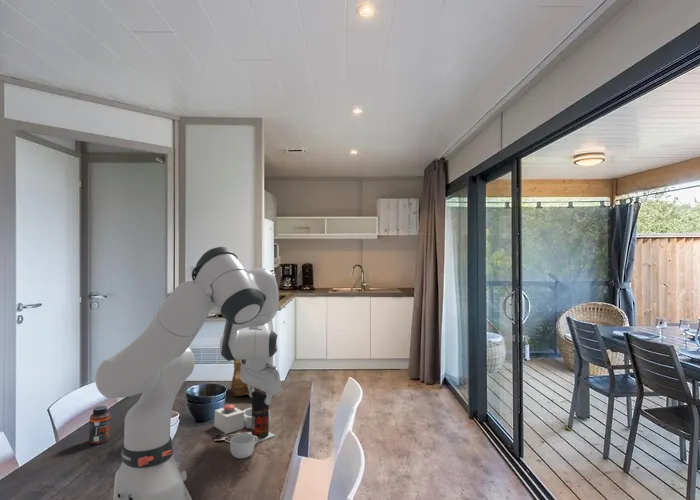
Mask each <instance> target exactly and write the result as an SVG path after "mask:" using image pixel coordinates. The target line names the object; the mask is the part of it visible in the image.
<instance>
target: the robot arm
mask: <svg viewBox="0 0 700 500" xmlns="http://www.w3.org/2000/svg"><path fill="white" fill-rule="evenodd" d="M191 278H192V280H191V281H184V282H182V283H180V284H179V285H177V287H175V288H174V289H173V290H172V291H171V293H170V294H169V295H168V296H167V298H165V300H164V302H163V303H162V304H161V305H160V308H159V309H158V311H157V312H156V314H155V315H154V317H153V318H152V320H151V322H150V323H149V324H148V326H147V328H146V329H145V331H144V332H142V333H141V334H140V335H139V336H138V337H137V338H136V339H134V341H132V342H131V343H130V344H128V345H127V346H126V347H124V348H123V349H122V350H120V351H119V352H118V353H116V354H114V355H112V356H110V357H109V358H106V359H104V360H103V361H101V363H100V364H99V366H98V368H97V370H96V372H95V376H94V377H95V378H94V379H95V385H96V388H97V391H98V392H99V393H100V394H101V395H102V396H103V397H105V398H107V399H118V398H119V399H120V398H121V399H122V398H129V397H133V396H136V395H139V394H141V396H140V398H139V399H138V401H137V402H136V403H134V404H133V406H131V407H130V408H129V410H128V411H127V413H126V415H125V418H124V428H123V429H124V431H123V433H124V434H123V438H124V439H123V444H122V447H121V452H120V454H121V461H122V462H121V464H120V466H119V468H118V469H117V470H116V472H115V475H114V487H113V499H112V500H193V499H192V496H191V494H190V493H189V491H188V489H187V487H186V485H185V481H186V480H187V477H188V476H187V471H185V470H183V471H180V465H181V464H180V463H181V462H180V461H176V458H175V454H174V449H173V448H174V445H173V441H172V437H171V420H172V412H173V406H174V402H175V400H176V398H177V395H178V393H179V391H180V389H181V387H182V386H183V384H184V382H185V381H186V380H187V379H188V378H189V377H190V376H191V375H192V373H193V372H194V369H195V366H196V365H195V364H196V363H195V362H196V358H195V354H194V353H193V351H192V349H191V348H190V346H191V344H193V343H192V342H193V341H194V339H195V338H196V336H197V335H198V334H199V332H200V331H201V329H202V327H203V326H204V324H205V322H206V320H207V317H208V315H209V313H210V312H211V311H212V310H213V309H215V307H217V309H218V310H219V311H220V314H221V316H222V317H223V318H224V319H225V323H224V324H225V325H224V330H223V332H222V333H223V334H222V336H221V338H220V341H219V352H220V355H221V356H222V358H223V359H224V360H226V361H229V362H230V361H234V360H240V362H241V364H242V365H241V380H242V382H243V383H246V384H248V390H249V395H248V396H249V398H251V399H252V392H254V391H255V390H254V387H255V388H257V389H259V390H262V391H264V392H266V395H267V397H266V399H264V404H266V405H269V406H270V405H271V403H272V399H273V396H274V395H276V394H279V393H280V391H281V387H282V385H281V375H280V372H279V370H278V369H277V366H275V365H274V355H275V354H276V353H277V352H278V343H277V342H278V339H277V338H278V334H277V333H276V332H275V331H274V324H273V319H274V318H275V317H276V315H277V312H278V309H279V298H280V295H279V286H278V282H277V279H276V277H275V275H274V274H273V272H272V271H270V270H269V269H267V268H262V267H257V268H256V267H255V268H252V269H250V270H247V268H246V266H244V264H243V263H242V262H241V261H240V260H239V259H238V256H237V255H236V254H235V253H234V252H233V251H232V250H231V249H229V248H227V247H226V246H225V247H224V246H218V247H213V248H210V249H208V250H207V251H205V252H204V253H203V254H202V255H201V257H200V258H199V259H198V261H197V262H196V264H195V267H194V268H193V269H192V272H191ZM245 328H246V329H245Z"/></svg>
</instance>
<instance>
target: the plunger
mask: <svg viewBox="0 0 700 500" xmlns="http://www.w3.org/2000/svg"><path fill="white" fill-rule="evenodd" d="M235 407H236V405H235V404H233V403H231V404H225V405H224V406H223V408H224V410H225V411H224V413H226V414H229V413H233V412H234V409H235Z"/></svg>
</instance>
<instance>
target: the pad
mask: <svg viewBox="0 0 700 500" xmlns="http://www.w3.org/2000/svg"><path fill="white" fill-rule="evenodd" d="M248 434H252V431H251V432H248ZM275 437H276V434H274V433H272V432H270V431H269V435H268V436H267V437H265V438H262V439H258V441H257V443H256V444H258V443H261V442H264V441H267V440H269V439H271V438H275ZM255 441H256V439H255Z"/></svg>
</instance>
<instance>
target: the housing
mask: <svg viewBox="0 0 700 500" xmlns="http://www.w3.org/2000/svg"><path fill="white" fill-rule="evenodd" d="M224 411H225V410H224V407H221V408H218V409H214V422H213V423H214V427H215V428H217V430H220V431H221V432H223V433H224V434H225V435H226V434H227V435H228V434H230V433H234V432H236V431H239V430H240V431H241V430H243V429H245V428H246V429H252V407H248V408H245V409H243V410H241V409H239V408H238V407H236V406H235V409H234V412H233V413H229V414H226V413H224ZM270 421H271V409H269V422H270Z"/></svg>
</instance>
